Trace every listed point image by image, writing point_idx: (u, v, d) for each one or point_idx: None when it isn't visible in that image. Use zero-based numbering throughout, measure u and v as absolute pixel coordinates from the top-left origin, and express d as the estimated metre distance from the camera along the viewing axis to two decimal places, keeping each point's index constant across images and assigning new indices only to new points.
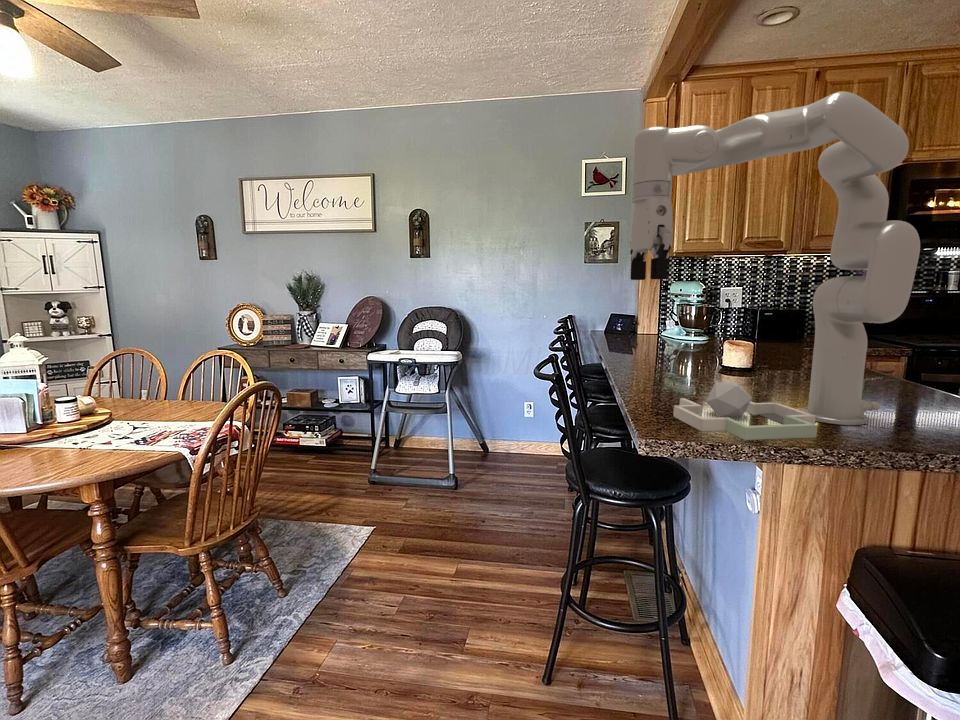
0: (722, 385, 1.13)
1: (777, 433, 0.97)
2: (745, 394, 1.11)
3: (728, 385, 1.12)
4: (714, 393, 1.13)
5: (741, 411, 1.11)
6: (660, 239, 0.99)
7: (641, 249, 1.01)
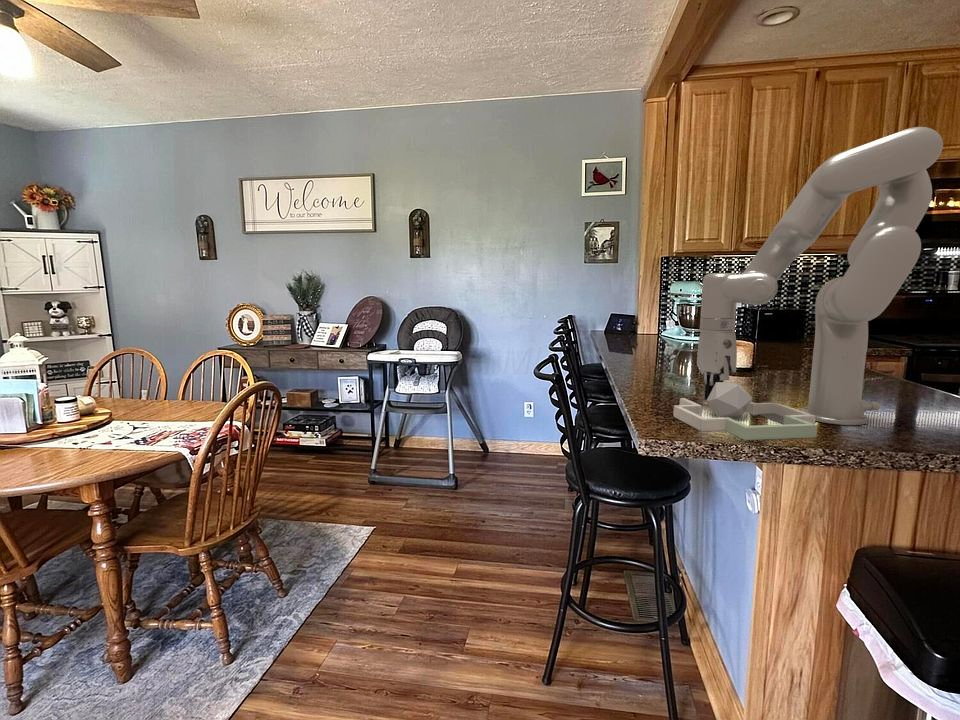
0: (723, 385, 1.13)
1: (777, 433, 0.97)
2: (745, 394, 1.11)
3: (728, 385, 1.12)
4: (714, 393, 1.13)
5: (741, 411, 1.11)
6: None
7: (707, 371, 1.19)
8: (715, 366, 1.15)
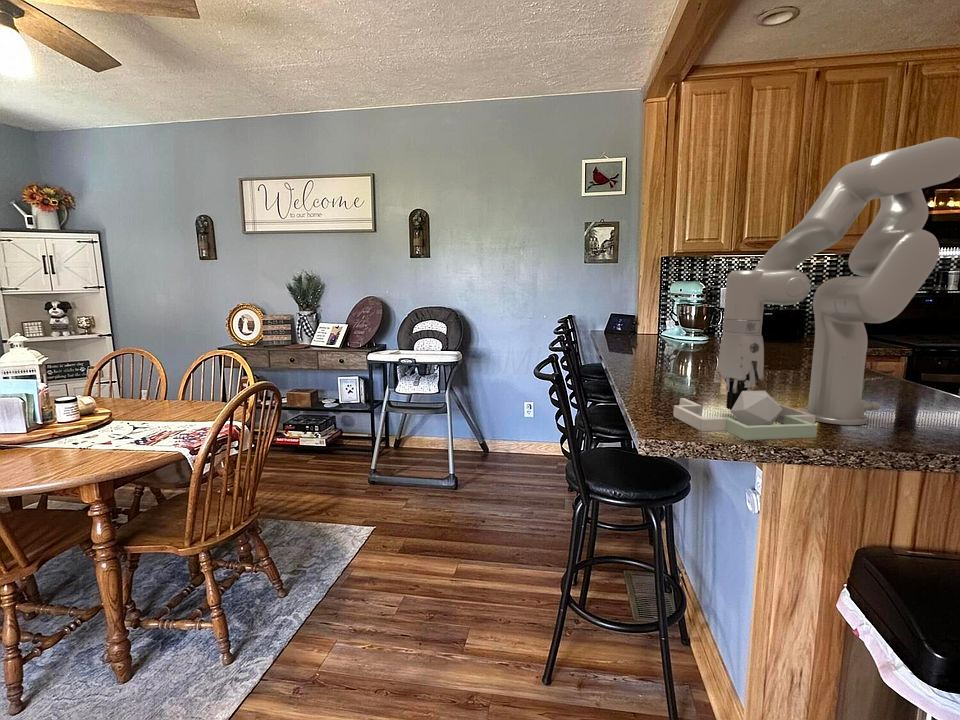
0: (750, 395, 1.03)
1: (777, 433, 0.97)
2: (775, 405, 1.01)
3: (757, 395, 1.02)
4: (741, 404, 1.03)
5: (770, 423, 1.01)
6: None
7: (731, 377, 1.09)
8: (740, 372, 1.05)
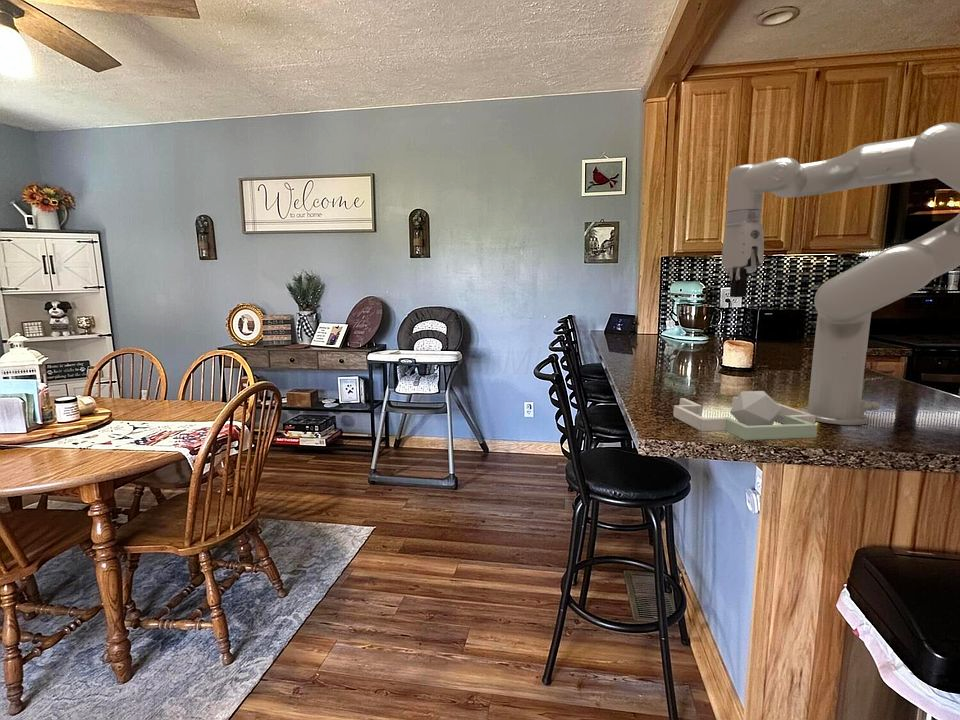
0: (749, 395, 1.03)
1: (777, 433, 0.97)
2: (774, 404, 1.01)
3: (756, 395, 1.02)
4: (740, 404, 1.03)
5: (770, 423, 1.02)
6: None
7: (734, 266, 1.20)
8: (742, 258, 1.16)
